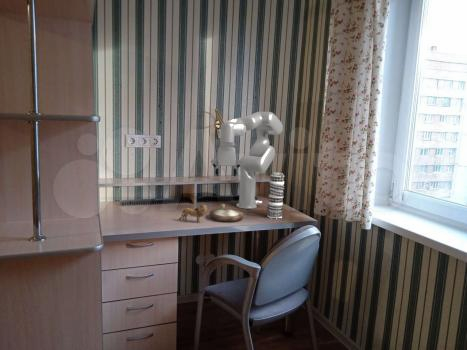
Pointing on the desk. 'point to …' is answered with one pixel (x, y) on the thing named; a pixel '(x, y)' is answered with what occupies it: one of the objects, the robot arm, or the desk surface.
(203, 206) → the lion figurine
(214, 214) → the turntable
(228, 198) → the desk surface
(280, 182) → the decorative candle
